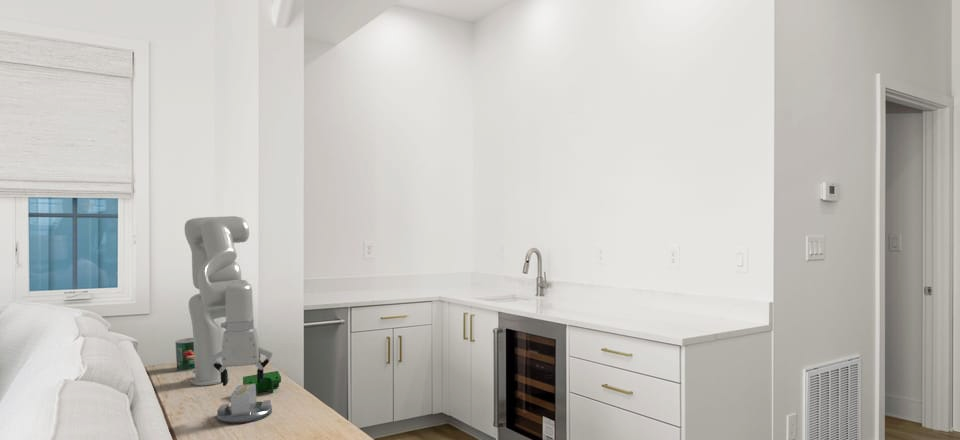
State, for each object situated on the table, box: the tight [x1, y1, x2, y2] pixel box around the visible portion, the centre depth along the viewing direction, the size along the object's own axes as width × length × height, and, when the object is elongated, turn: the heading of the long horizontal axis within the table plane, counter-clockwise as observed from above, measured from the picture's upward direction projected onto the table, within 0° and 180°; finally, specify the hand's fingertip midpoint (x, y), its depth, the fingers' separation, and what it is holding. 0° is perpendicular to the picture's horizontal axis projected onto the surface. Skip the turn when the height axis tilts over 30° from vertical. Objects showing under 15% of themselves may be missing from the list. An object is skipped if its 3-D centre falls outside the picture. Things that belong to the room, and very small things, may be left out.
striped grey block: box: [230, 384, 258, 416], centre depth 181 cm, size 5×10×6 cm, turn 10°
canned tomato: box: [175, 337, 195, 372], centre depth 238 cm, size 8×8×11 cm
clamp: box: [242, 370, 282, 397], centre depth 202 cm, size 12×6×9 cm, turn 115°
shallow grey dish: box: [216, 399, 273, 425], centre depth 181 cm, size 15×15×3 cm
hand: (242, 383), depth 181 cm, fingers open, 9 cm apart
